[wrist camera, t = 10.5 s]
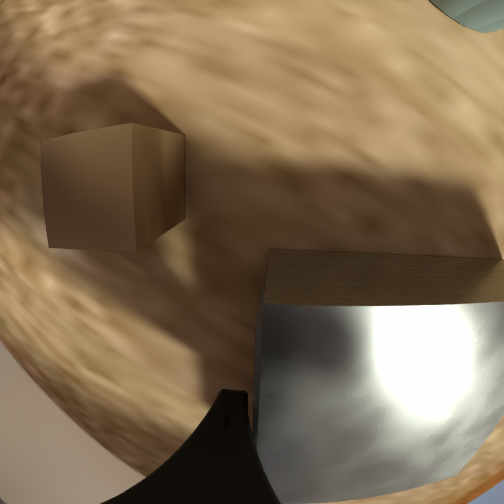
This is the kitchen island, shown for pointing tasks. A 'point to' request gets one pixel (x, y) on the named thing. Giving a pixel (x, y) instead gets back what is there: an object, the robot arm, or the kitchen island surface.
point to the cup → (475, 13)
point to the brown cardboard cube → (112, 187)
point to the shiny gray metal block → (376, 370)
